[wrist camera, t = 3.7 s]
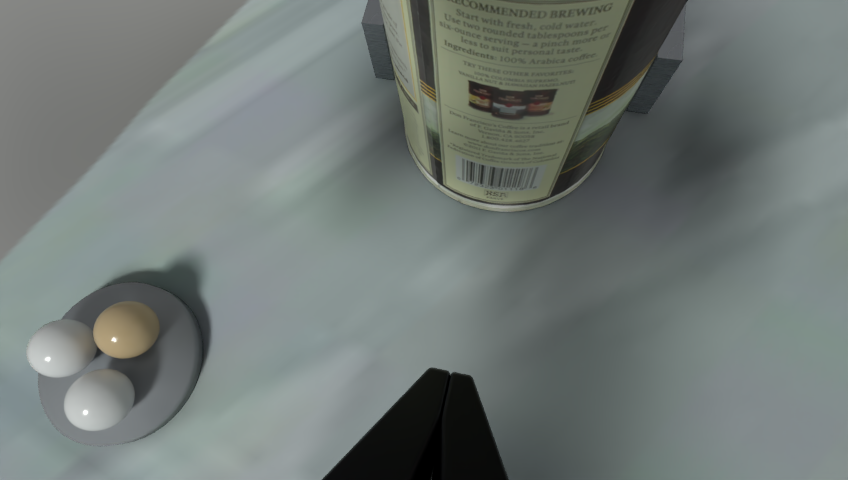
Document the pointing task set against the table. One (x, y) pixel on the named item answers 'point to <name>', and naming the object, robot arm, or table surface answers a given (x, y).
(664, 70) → the grey shallow tray
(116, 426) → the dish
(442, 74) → the coffee can
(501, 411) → the table surface
